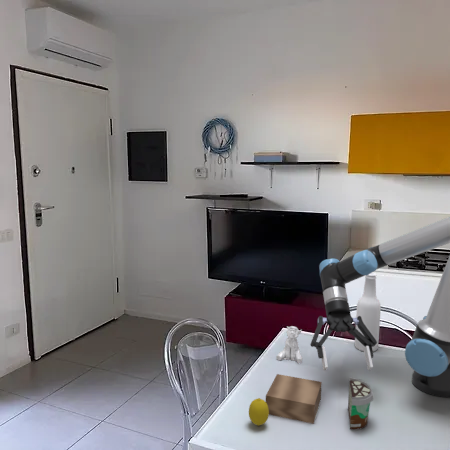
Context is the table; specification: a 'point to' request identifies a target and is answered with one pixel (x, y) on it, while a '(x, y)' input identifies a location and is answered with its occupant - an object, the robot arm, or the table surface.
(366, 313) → the alcohol
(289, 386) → the square wooden plinth
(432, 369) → the robot arm
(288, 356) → the white creature statuette
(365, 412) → the food container
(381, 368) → the table surface
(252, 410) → the lemon
